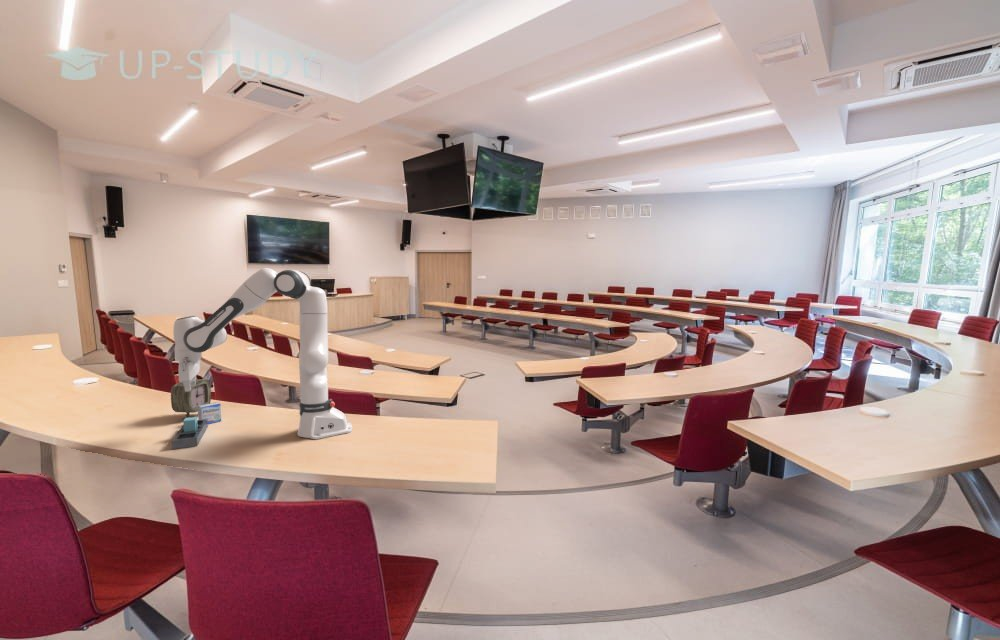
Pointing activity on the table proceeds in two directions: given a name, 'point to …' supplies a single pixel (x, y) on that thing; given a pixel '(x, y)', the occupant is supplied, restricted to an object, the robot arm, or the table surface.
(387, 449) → the table surface
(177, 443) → the grey rectangular piece
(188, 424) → the clip
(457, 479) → the table surface
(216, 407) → the medicine box
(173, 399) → the tabletop clock
